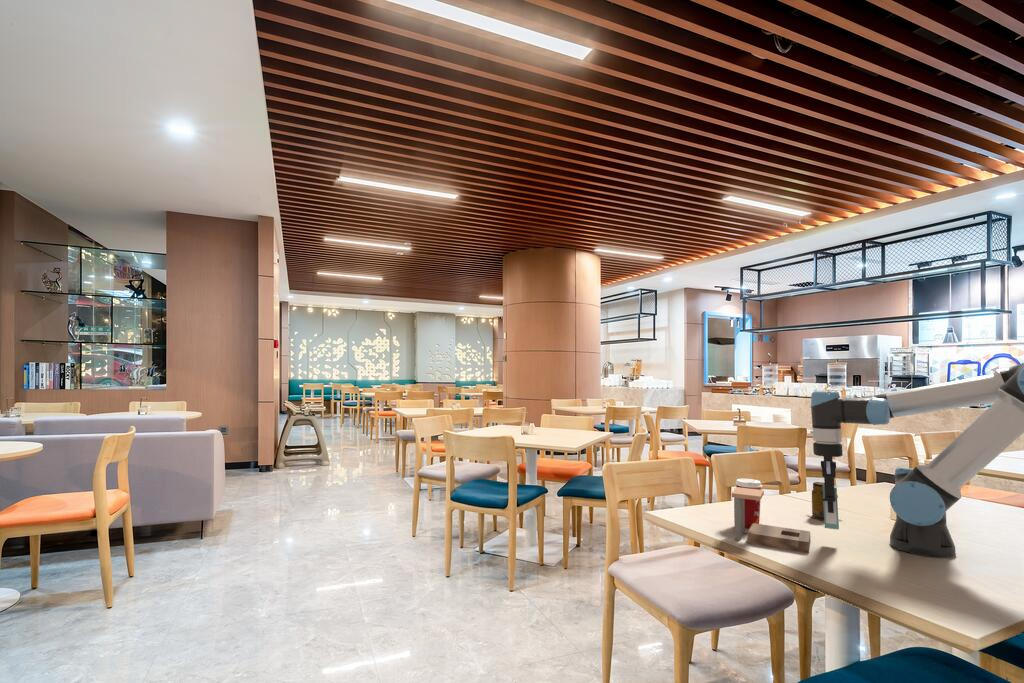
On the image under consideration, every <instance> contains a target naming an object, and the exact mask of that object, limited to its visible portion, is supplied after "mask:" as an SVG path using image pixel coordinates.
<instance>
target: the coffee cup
mask: <svg viewBox="0 0 1024 683" xmlns="http://www.w3.org/2000/svg"><path fill="white" fill-rule="evenodd" d="M734 485H735V486H736V487H740V488H749V489H758V490H762V487H763V485H762V483H761V481H760V480H758V479H753V478H737V479H736V482H735V483H734ZM736 487H735V488H736ZM744 508H745V529H748V530H749V529H750V527H751V525H752V524H753V523H755V524H760V520H761V519H760V518H761V517H760V516H761V515H760V514H761V500H760V501H759V500H751V499H744Z"/></svg>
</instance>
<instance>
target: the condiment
mask: <svg viewBox="0 0 1024 683" xmlns="http://www.w3.org/2000/svg"><path fill="white" fill-rule="evenodd" d="M823 485H825V484H824V481H823V482H821V481H814V482H812V490H811V513H812V514H806V516H807V517H810V518H812V519H817V520H819V521H822V522H824V506H823ZM838 521H839V522H841V521H842V520H841V519H839V518H838Z"/></svg>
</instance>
